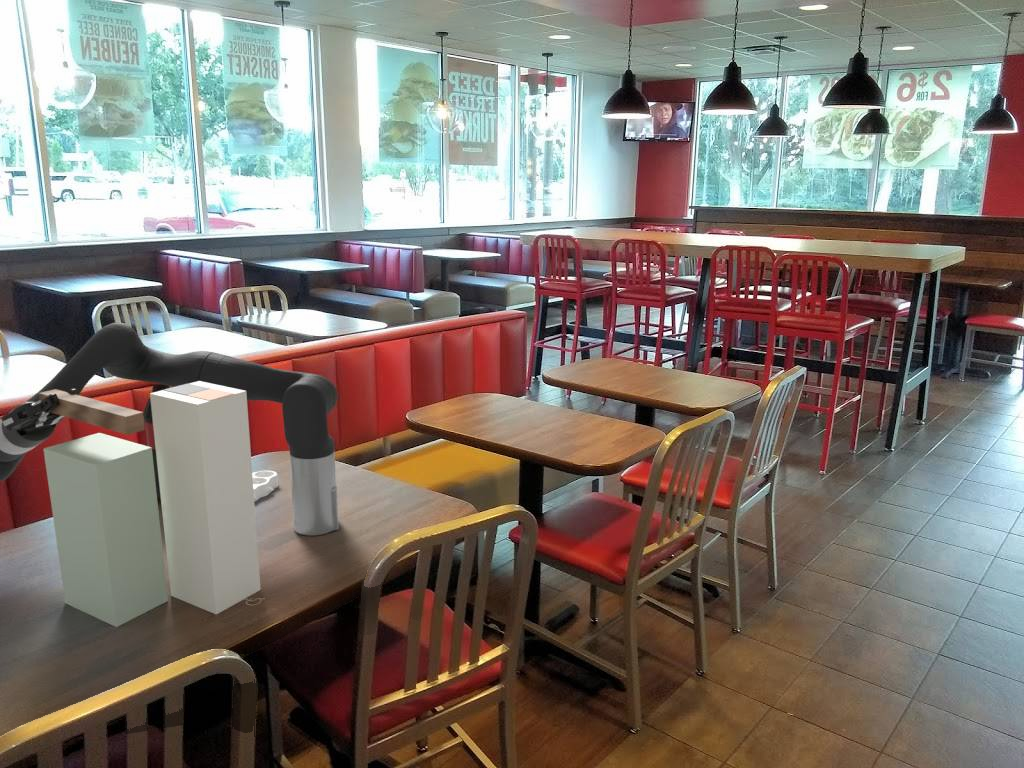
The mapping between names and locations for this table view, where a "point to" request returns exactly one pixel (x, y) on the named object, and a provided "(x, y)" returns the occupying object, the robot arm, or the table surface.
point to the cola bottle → (150, 433)
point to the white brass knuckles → (264, 483)
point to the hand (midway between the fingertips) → (66, 396)
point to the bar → (97, 412)
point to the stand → (206, 493)
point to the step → (107, 526)
